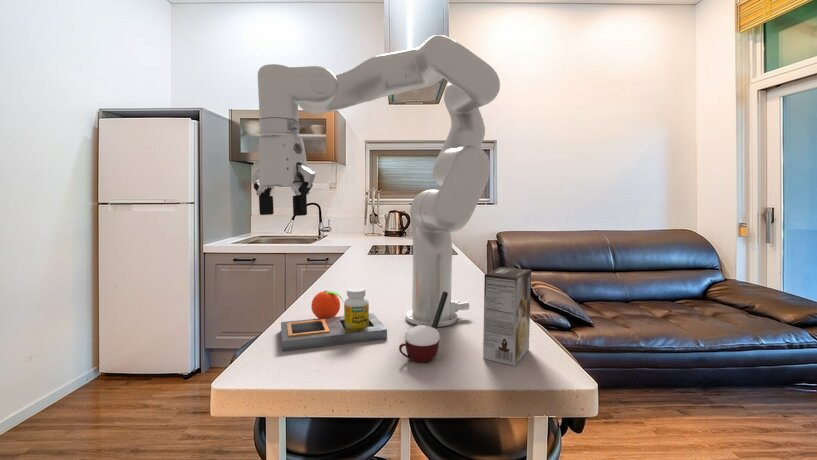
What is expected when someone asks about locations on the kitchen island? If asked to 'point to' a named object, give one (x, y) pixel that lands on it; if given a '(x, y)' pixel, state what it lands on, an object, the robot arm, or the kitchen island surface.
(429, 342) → the cocoa
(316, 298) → the clementine
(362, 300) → the supplement bottle
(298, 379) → the kitchen island surface
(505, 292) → the coffee box
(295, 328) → the two-pocket grey tray
